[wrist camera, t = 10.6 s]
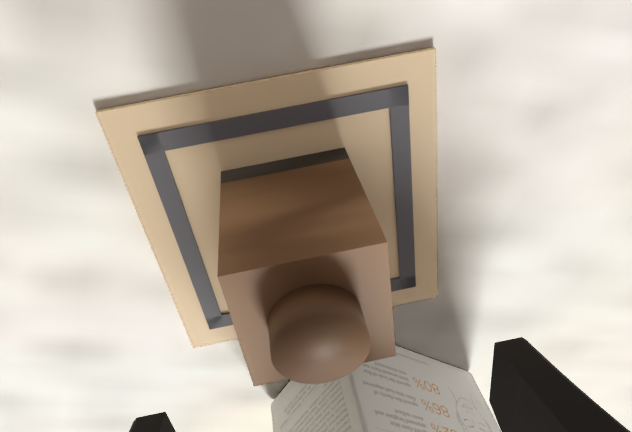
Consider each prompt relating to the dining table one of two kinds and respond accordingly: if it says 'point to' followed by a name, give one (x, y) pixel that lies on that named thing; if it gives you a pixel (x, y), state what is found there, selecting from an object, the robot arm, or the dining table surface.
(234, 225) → the stamp
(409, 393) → the small box
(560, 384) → the robot arm
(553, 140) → the dining table surface
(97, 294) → the dining table surface
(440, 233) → the dining table surface
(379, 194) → the card sheet
